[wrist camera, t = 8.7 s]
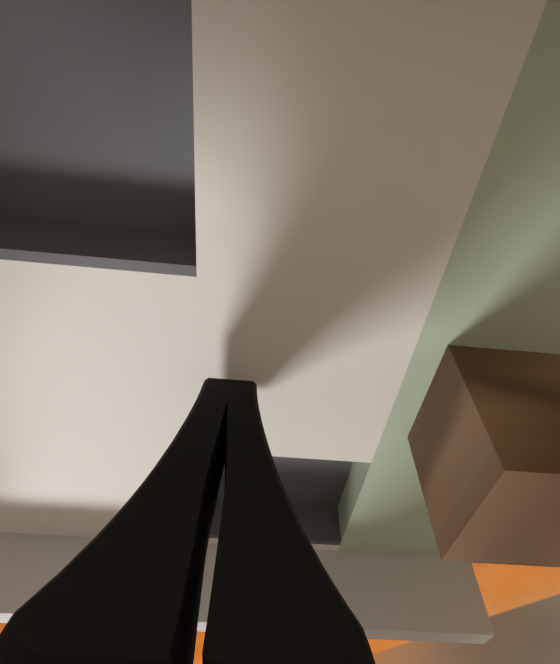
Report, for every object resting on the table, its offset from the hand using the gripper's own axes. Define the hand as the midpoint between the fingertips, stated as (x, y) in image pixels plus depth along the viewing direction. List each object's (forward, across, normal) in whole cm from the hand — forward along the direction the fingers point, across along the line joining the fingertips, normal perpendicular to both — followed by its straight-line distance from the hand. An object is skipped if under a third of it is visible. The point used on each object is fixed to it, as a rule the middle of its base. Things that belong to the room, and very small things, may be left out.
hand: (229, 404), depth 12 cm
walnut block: (+1, -8, 0) cm, 8 cm away
